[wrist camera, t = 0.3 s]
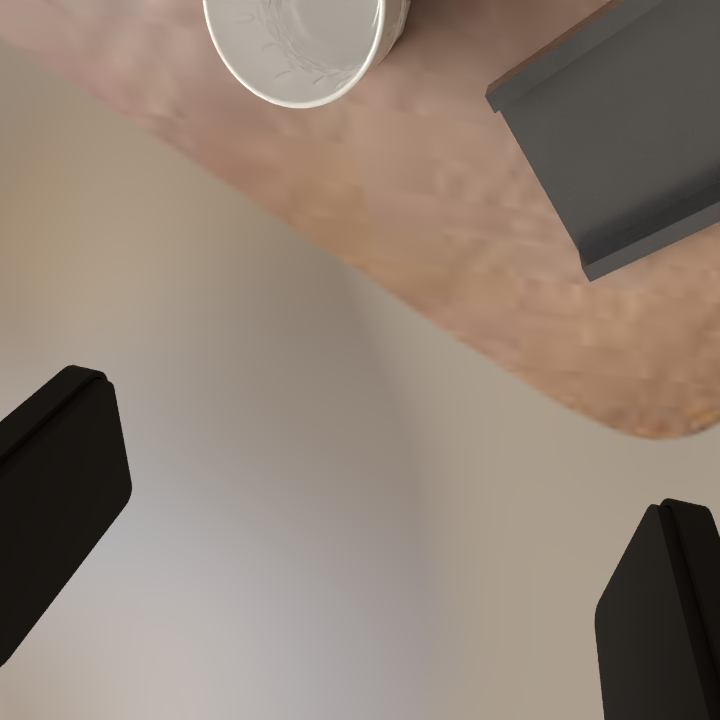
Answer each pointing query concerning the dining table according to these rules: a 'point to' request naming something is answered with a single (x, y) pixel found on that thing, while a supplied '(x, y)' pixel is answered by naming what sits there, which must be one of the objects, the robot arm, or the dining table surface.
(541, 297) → the dining table surface
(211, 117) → the dining table surface
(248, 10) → the white cup
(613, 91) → the track
